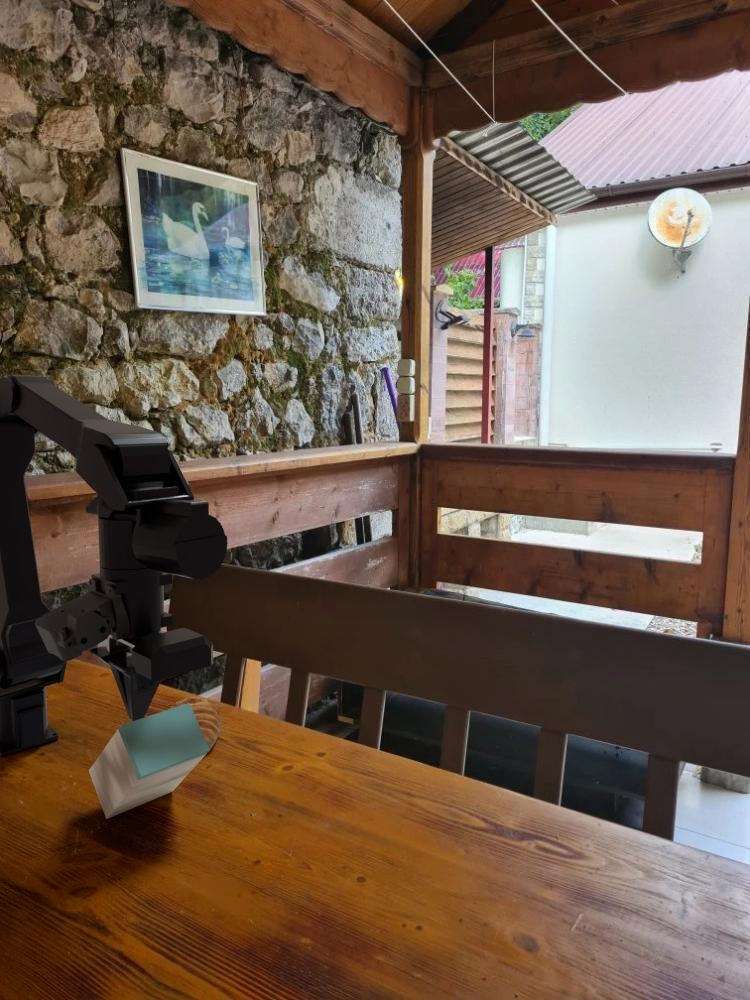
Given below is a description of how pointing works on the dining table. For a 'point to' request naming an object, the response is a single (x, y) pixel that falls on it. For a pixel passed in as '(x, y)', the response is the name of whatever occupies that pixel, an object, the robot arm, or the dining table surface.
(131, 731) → the birch block
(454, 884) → the dining table surface
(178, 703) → the pastry
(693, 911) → the dining table surface
